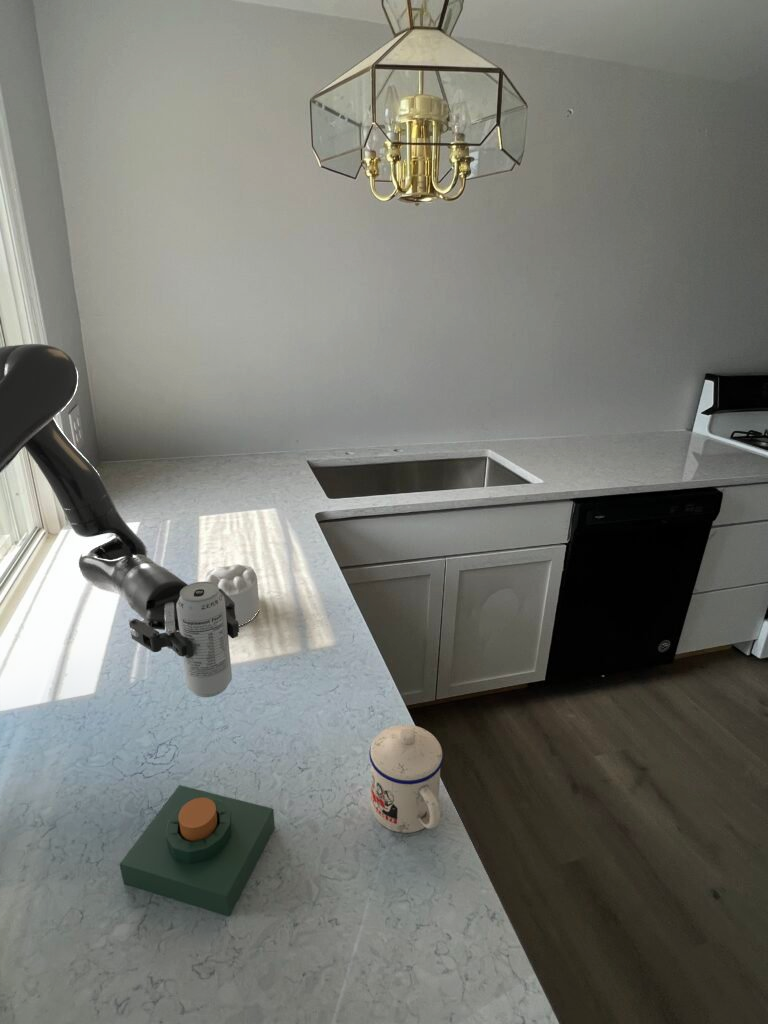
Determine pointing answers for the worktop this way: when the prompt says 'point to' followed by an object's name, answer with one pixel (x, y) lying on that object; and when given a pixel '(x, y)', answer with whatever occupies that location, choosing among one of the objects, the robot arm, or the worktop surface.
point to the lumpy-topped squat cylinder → (238, 589)
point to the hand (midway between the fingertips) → (213, 641)
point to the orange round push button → (198, 819)
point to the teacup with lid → (405, 778)
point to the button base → (200, 853)
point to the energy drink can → (205, 638)
